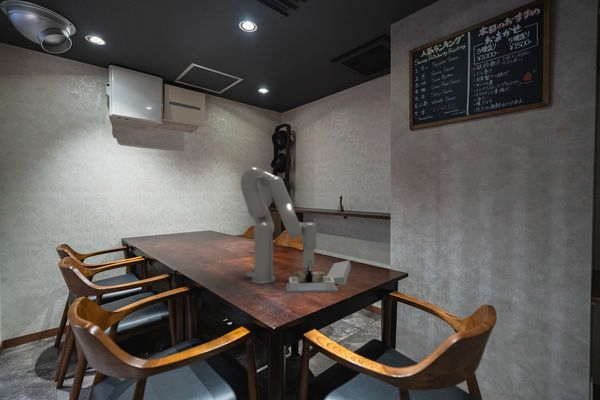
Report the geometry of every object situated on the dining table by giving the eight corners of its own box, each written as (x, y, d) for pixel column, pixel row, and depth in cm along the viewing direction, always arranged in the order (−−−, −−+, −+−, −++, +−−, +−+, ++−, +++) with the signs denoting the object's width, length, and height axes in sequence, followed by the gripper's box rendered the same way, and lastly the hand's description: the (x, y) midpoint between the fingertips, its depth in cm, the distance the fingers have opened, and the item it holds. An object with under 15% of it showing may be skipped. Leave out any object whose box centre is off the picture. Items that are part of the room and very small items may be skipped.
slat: (293, 282, 136) (293, 274, 136) (293, 279, 140) (293, 272, 140) (324, 281, 137) (324, 274, 137) (323, 279, 141) (323, 271, 141)
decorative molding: (326, 289, 134) (345, 286, 131) (324, 280, 134) (343, 276, 131) (336, 270, 166) (351, 267, 164) (334, 263, 167) (349, 260, 164)
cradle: (286, 292, 121) (286, 283, 121) (286, 285, 131) (286, 276, 131) (337, 291, 123) (337, 282, 122) (333, 284, 133) (333, 275, 132)
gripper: (300, 242, 146) (300, 275, 146) (303, 249, 129) (302, 285, 130) (314, 242, 146) (313, 275, 147) (318, 249, 130) (317, 285, 130)
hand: (308, 279), depth 138 cm, fingers closed on slat, 4 cm apart
